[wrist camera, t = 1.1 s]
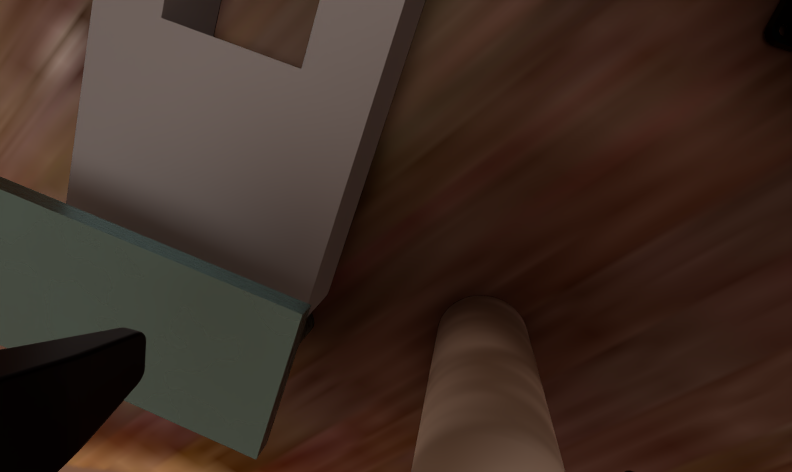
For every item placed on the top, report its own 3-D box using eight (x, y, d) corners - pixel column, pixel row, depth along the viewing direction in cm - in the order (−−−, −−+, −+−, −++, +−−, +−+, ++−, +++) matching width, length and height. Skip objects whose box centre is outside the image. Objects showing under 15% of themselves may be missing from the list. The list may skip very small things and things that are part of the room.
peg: (543, 316, 20) (604, 479, 11) (506, 390, 22) (531, 595, 12) (456, 282, 21) (441, 410, 11) (424, 356, 22) (386, 529, 12)
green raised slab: (363, 249, 21) (302, 314, 14) (328, 350, 23) (256, 459, 15) (115, 150, 22) (-73, 159, 15) (98, 253, 24) (-78, 310, 16)
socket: (457, -95, 17) (453, -150, 14) (327, 294, 22) (301, 323, 19) (190, -181, 18) (126, -253, 15) (122, 210, 23) (63, 223, 20)
